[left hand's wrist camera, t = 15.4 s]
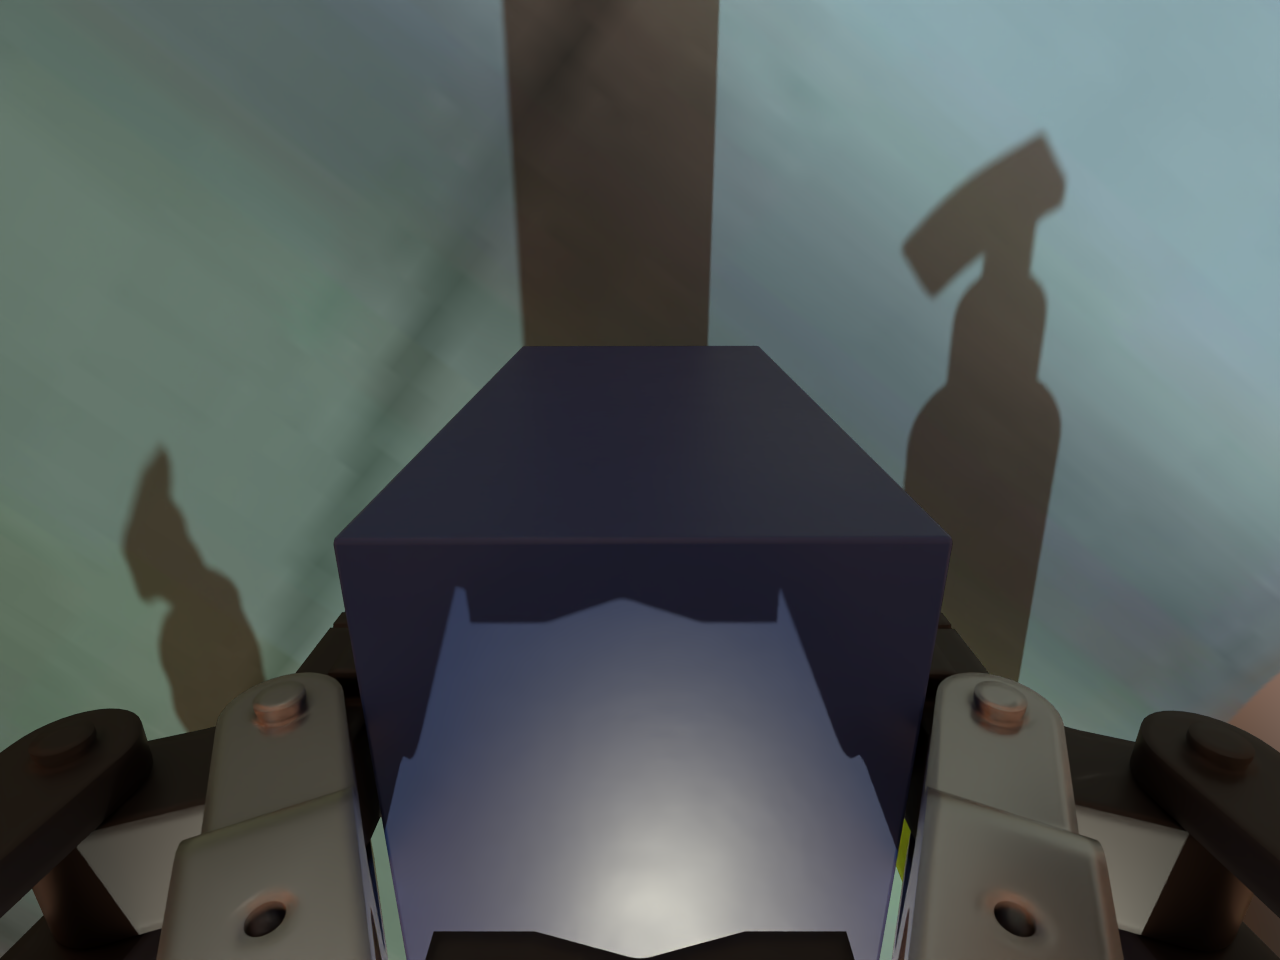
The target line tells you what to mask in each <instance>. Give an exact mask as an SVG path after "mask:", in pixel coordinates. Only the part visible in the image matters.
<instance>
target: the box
mask: <svg viewBox="0 0 1280 960" xmlns="http://www.w3.org/2000/svg"><path fill="white" fill-rule="evenodd" d="M951 549H952V538H951V536H950V535H949V534H948V533H947V532H946V531H945V530H944V529H943V528H942V527H941V526H940V525H939V524H938V523H937V522H936V521H934V520H933V519H932V518H931V517H930V516H929V515H928V514H927V513H926V512H925V511H924V510H923V509H922V508H921V507H920V506H919V505H918V504H917V503H916V502H915V501H914V500H913V499H912V498H911V497H910V496H909V495H908V494H907V493H906V492H905V491H904V490H903V489H902V488H901V487H900V486H899V485H898V484H897V483H896V482H895V481H894V480H893V479H892V478H891V477H890V476H889V475H888V474H887V473H886V472H885V471H884V470H883V469H882V468H881V467H880V466H879V465H878V464H877V463H876V462H875V461H874V460H873V459H872V458H871V457H870V456H869V455H868V454H867V453H866V452H865V451H864V450H863V449H862V448H861V447H860V446H859V445H858V444H857V443H856V442H855V441H854V440H853V439H852V438H851V437H850V436H849V435H848V434H847V433H846V432H845V431H844V430H843V429H842V428H841V427H840V426H839V425H838V424H837V423H836V422H835V421H834V420H833V419H831V418H830V417H829V416H828V415H827V414H826V413H825V412H824V411H823V410H822V409H821V408H820V407H819V406H818V405H817V404H816V403H815V402H814V401H813V400H812V399H811V398H810V397H809V396H808V395H807V394H806V393H805V392H804V391H803V390H802V389H801V388H800V387H799V386H798V385H797V384H796V383H795V382H794V381H793V380H792V379H791V378H790V377H789V376H788V375H787V374H786V373H785V372H784V371H783V370H782V369H781V368H780V367H779V366H778V365H777V364H776V363H775V362H774V361H773V360H772V359H771V358H770V357H769V356H768V355H767V354H766V353H765V352H764V351H763V350H762V349H761V348H760V347H758V346H524V347H522V348H521V349H520V350H519V351H518V352H517V353H516V354H515V355H514V356H513V357H512V358H511V359H510V360H509V361H508V362H507V363H506V364H505V365H504V366H503V367H502V368H501V369H500V371H499V372H498V373H497V374H496V375H495V376H494V377H493V378H492V379H491V380H490V381H489V382H488V383H487V384H486V385H485V386H484V387H483V388H482V389H481V390H480V391H479V392H478V393H477V394H476V395H475V396H474V397H473V398H472V399H471V400H470V401H469V402H468V403H467V404H466V405H465V406H464V407H463V408H462V409H461V410H460V411H459V412H458V413H457V414H456V415H455V416H454V417H453V418H452V419H451V420H450V421H449V422H448V423H447V425H446V426H445V427H444V428H443V429H442V430H441V431H440V432H439V433H438V434H437V435H436V436H435V437H434V438H433V439H432V440H431V441H430V442H429V443H428V444H427V445H426V446H425V447H424V448H423V449H422V450H421V451H420V452H419V453H418V454H417V455H416V456H415V457H414V458H413V459H412V460H411V461H410V462H409V463H408V464H407V465H406V466H405V467H404V468H403V469H402V470H401V471H400V472H399V473H398V474H397V475H396V476H395V477H394V479H393V480H392V481H391V482H390V483H389V484H388V485H387V486H386V487H385V488H384V489H383V490H382V491H381V492H380V493H379V494H378V495H377V496H376V497H375V498H374V499H373V500H372V501H371V502H370V503H369V504H368V505H367V506H366V507H365V508H364V509H363V510H362V511H361V512H360V513H359V514H358V515H357V516H356V517H355V518H354V519H353V520H352V521H351V522H350V523H349V524H348V525H347V526H346V527H345V528H344V529H343V530H342V531H341V533H340V534H339V535H338V536H337V537H336V538H335V540H334V550H335V555H336V561H337V567H338V572H339V578H340V584H341V589H342V595H343V601H344V606H345V612H346V618H347V623H348V629H349V635H350V640H351V646H352V652H353V657H354V663H355V669H356V674H357V680H358V686H359V691H360V697H361V703H362V708H363V714H364V720H365V726H366V731H367V737H368V743H369V748H370V754H371V760H372V765H373V771H374V777H375V782H376V788H377V794H378V799H379V805H380V811H381V816H382V822H383V828H384V833H385V839H386V845H387V850H388V856H389V862H390V867H391V873H392V879H393V884H394V890H395V896H396V901H397V907H398V913H399V918H400V924H401V930H402V935H403V941H404V947H405V952H406V958H407V960H425V959H426V955H427V952H428V949H429V945H430V942H431V938H432V935H433V932H434V931H536V932H540V933H543V934H547V935H551V936H554V937H558V938H562V939H565V940H569V941H573V942H576V943H580V944H584V945H587V946H591V947H595V948H598V949H602V950H606V951H609V952H613V953H617V954H620V955H624V956H628V957H633V958H647V957H652V956H656V955H660V954H663V953H667V952H671V951H674V950H678V949H682V948H685V947H689V946H693V945H696V944H700V943H704V942H707V941H711V940H715V939H718V938H722V937H726V936H729V935H733V934H737V933H740V932H744V931H846V932H847V935H848V938H849V942H850V945H851V949H852V952H853V955H854V959H855V960H879V958H880V952H881V947H882V941H883V935H884V930H885V924H886V918H887V913H888V907H889V901H890V896H891V890H892V884H893V879H894V873H895V867H896V862H897V856H898V850H899V845H900V839H901V833H902V828H903V822H904V816H905V810H906V805H907V799H908V793H909V788H910V782H911V776H912V771H913V765H914V759H915V754H916V748H917V742H918V737H919V731H920V725H921V720H922V714H923V708H924V703H925V697H926V691H927V686H928V680H929V674H930V669H931V663H932V657H933V652H934V646H935V640H936V634H937V629H938V623H939V617H940V612H941V606H942V600H943V595H944V589H945V583H946V578H947V572H948V566H949V561H950V555H951Z"/></svg>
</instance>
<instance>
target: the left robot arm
mask: <svg viewBox="0 0 1280 960" xmlns="http://www.w3.org/2000/svg"><path fill="white" fill-rule="evenodd" d="M380 817H382V816H381V811H380V805H379V799H378V794H377V788H376V782H375V777H374V771H373V765H372V760H371V754H370V748H369V743H368V737H367V731H366V726H365V720H364V714H363V708H362V703H361V697H360V691H359V686H358V680H357V674H356V669H355V663H354V657H353V652H352V646H351V640H350V635H349V629H348V623H347V618H346V612H342V613H341V615H340V616H339V617H338V618H337V620H336V621H335V622H334V624H333V628H330V629H329V630H328V631H327V633H326V634H325V635H324V637H323V638H322V639H321V641H320V642H319V643H318V644H317V646H316V647H315V648H314V650H313V651H312V652H311V654H310V655H309V656H308V658H307V659H306V660H305V661H304V663H303V664H302V665H301V667H300V668H299V669H298V671H297V672H296V673H294V674H288V675H283V676H280V677H276V678H273V679H270V680H267V681H265V682H262V683H260V684H258V685H255V686H253V687H251V688H250V689H248V690H246V691H245V692H243V693H241V694H240V695H239V696H237V697H236V698H235V699H233V700H232V701H231V702H230V703H229V704H228V705H227V706H226V707H225V708H224V710H223V711H222V712H221V714H220V716H219V718H218V720H217V724H216V727H212V728H208V729H203V730H198V731H194V732H189V733H184V734H179V735H174V736H170V737H165V738H160V739H155V740H150V741H147V738H146V735H145V731H144V728H143V725H142V722H141V720H140V718H139V717H138V716H137V715H136V714H135V713H133V712H130V711H128V710H123V709H98V710H93V711H87V712H83V713H79V714H75V715H72V716H68V717H65V718H62V719H60V720H57V721H55V722H52V723H50V724H47V725H45V726H43V727H41V728H39V729H37V730H35V731H33V732H31V733H29V734H28V735H26V736H24V737H22V738H21V739H19V740H18V741H16V742H15V743H13V744H12V745H10V746H9V747H8V748H6V749H5V750H3V751H2V752H1V753H0V918H1V917H2V916H3V915H4V914H5V913H6V912H7V911H8V910H9V909H11V908H12V907H13V906H14V905H15V904H16V903H17V902H18V901H19V900H20V899H21V898H22V897H23V896H24V895H25V894H27V893H28V892H29V891H30V890H31V889H33V892H34V894H35V896H36V899H37V901H38V903H39V905H40V908H41V910H42V912H43V915H44V916H43V917H42V918H41V919H40V920H39V921H38V922H36V923H35V924H34V925H33V926H32V927H31V928H30V929H29V930H28V931H27V932H26V933H25V934H24V935H23V936H22V937H21V938H20V939H19V940H18V941H17V942H16V943H15V944H14V945H13V946H12V947H11V948H10V949H9V950H8V951H7V952H6V953H5V954H4V955H3V956H2V957H1V958H0V960H388V955H387V947H386V940H385V933H384V926H383V918H382V911H381V904H380V897H379V889H378V882H377V875H376V868H375V861H374V854H373V848H372V843H371V837H372V835H373V832H374V830H375V828H376V826H377V823H378V821H379V819H380ZM904 819H905V820H906V822H907V824H908V827H909V829H910V831H911V832H910V837H909V843H908V848H907V854H906V860H905V868H904V875H903V882H902V889H901V897H900V904H899V911H898V918H897V926H896V933H895V940H894V947H893V954H892V960H1280V958H1279V957H1278V956H1277V955H1276V954H1275V953H1274V952H1273V951H1272V950H1271V949H1270V948H1269V947H1268V946H1267V945H1266V944H1265V943H1264V942H1263V941H1262V940H1261V939H1260V938H1259V937H1258V936H1257V935H1256V934H1255V933H1254V932H1253V931H1252V930H1251V929H1249V927H1248V926H1247V925H1246V924H1245V923H1244V922H1243V918H1244V916H1245V914H1246V912H1247V909H1248V907H1249V905H1250V903H1251V900H1252V898H1253V896H1254V894H1255V895H1256V896H1257V897H1258V898H1259V899H1260V900H1261V901H1262V902H1263V903H1264V904H1265V905H1266V906H1267V907H1268V908H1269V909H1271V910H1272V911H1273V912H1274V913H1275V914H1276V915H1277V916H1278V917H1279V918H1280V753H1279V752H1278V751H1277V750H1275V749H1274V748H1272V747H1271V746H1269V745H1268V744H1266V743H1265V742H1263V741H1262V740H1260V739H1259V738H1257V737H1255V736H1253V735H1251V734H1250V733H1248V732H1246V731H1244V730H1242V729H1240V728H1237V727H1235V726H1233V725H1230V724H1228V723H1225V722H1223V721H1220V720H1217V719H1214V718H1211V717H1208V716H1204V715H1200V714H1196V713H1190V712H1183V711H1161V712H1155V713H1153V714H1150V715H1148V716H1147V717H1146V718H1144V720H1143V722H1142V723H1141V726H1140V730H1139V733H1138V736H1137V739H1136V742H1133V741H1128V740H1123V739H1119V738H1114V737H1109V736H1104V735H1099V734H1095V733H1090V732H1085V731H1080V730H1076V729H1072V728H1068V727H1065V726H1064V724H1063V720H1062V718H1061V716H1060V714H1059V712H1058V711H1057V710H1056V708H1055V707H1054V706H1053V705H1052V704H1051V703H1050V702H1049V701H1048V700H1047V699H1045V698H1044V697H1043V696H1041V695H1040V694H1039V693H1037V692H1035V691H1034V690H1032V689H1030V688H1029V687H1027V686H1025V685H1022V684H1020V683H1018V682H1015V681H1013V680H1010V679H1007V678H1004V677H1000V676H997V675H992V674H989V673H988V672H987V670H986V669H985V668H984V666H983V665H982V664H981V663H980V661H979V660H978V659H977V657H976V656H975V655H974V654H973V652H972V651H971V650H970V648H969V647H968V646H967V645H966V643H965V642H964V641H963V639H962V638H961V637H960V636H959V634H958V633H957V632H956V630H955V629H951V624H950V623H949V621H948V620H947V619H946V618H945V616H944V615H943V614H942V613H940V617H939V623H938V629H937V634H936V640H935V646H934V652H933V657H932V663H931V669H930V674H929V680H928V686H927V691H926V697H925V703H924V708H923V714H922V720H921V725H920V731H919V737H918V742H917V748H916V754H915V759H914V765H913V771H912V776H911V782H910V788H909V793H908V799H907V805H906V810H905V816H904ZM425 960H855V959H854V955H853V952H852V949H851V945H850V942H849V938H848V935H847V932H846V931H744V932H740V933H737V934H733V935H729V936H726V937H722V938H718V939H715V940H711V941H707V942H704V943H700V944H696V945H693V946H689V947H685V948H682V949H678V950H674V951H671V952H667V953H663V954H660V955H656V956H652V957H647V958H633V957H628V956H624V955H620V954H617V953H613V952H609V951H606V950H602V949H598V948H595V947H591V946H587V945H584V944H580V943H576V942H573V941H569V940H565V939H562V938H558V937H554V936H551V935H547V934H543V933H540V932H536V931H434V932H433V935H432V938H431V942H430V945H429V949H428V952H427V955H426V959H425Z"/></svg>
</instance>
